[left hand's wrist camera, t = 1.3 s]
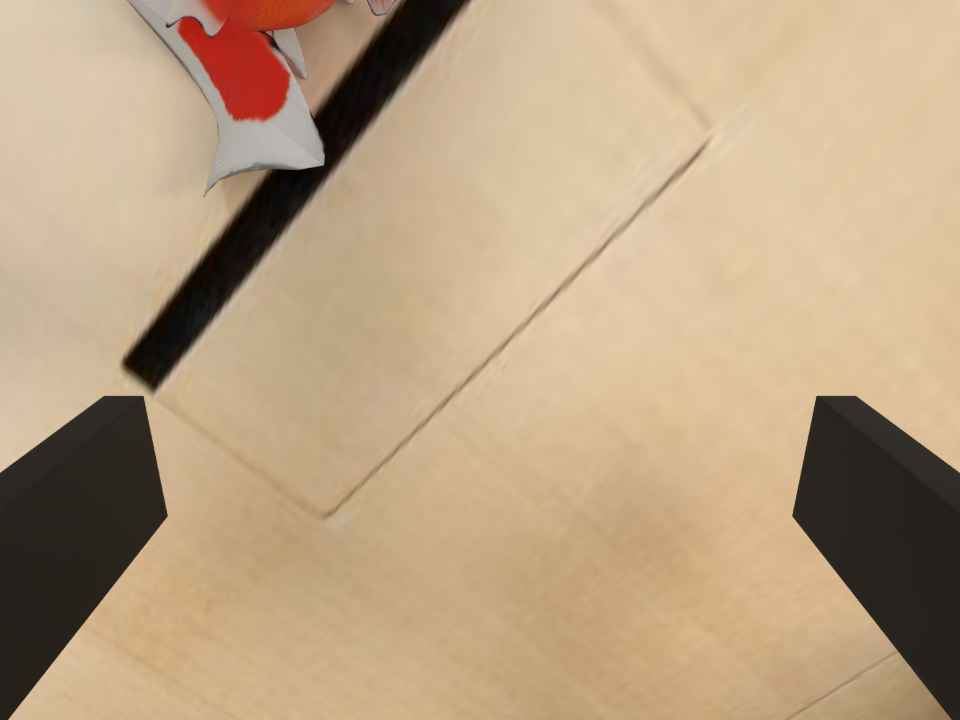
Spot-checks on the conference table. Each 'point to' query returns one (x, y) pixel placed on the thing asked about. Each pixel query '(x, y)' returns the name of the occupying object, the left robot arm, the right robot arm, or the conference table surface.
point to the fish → (247, 75)
